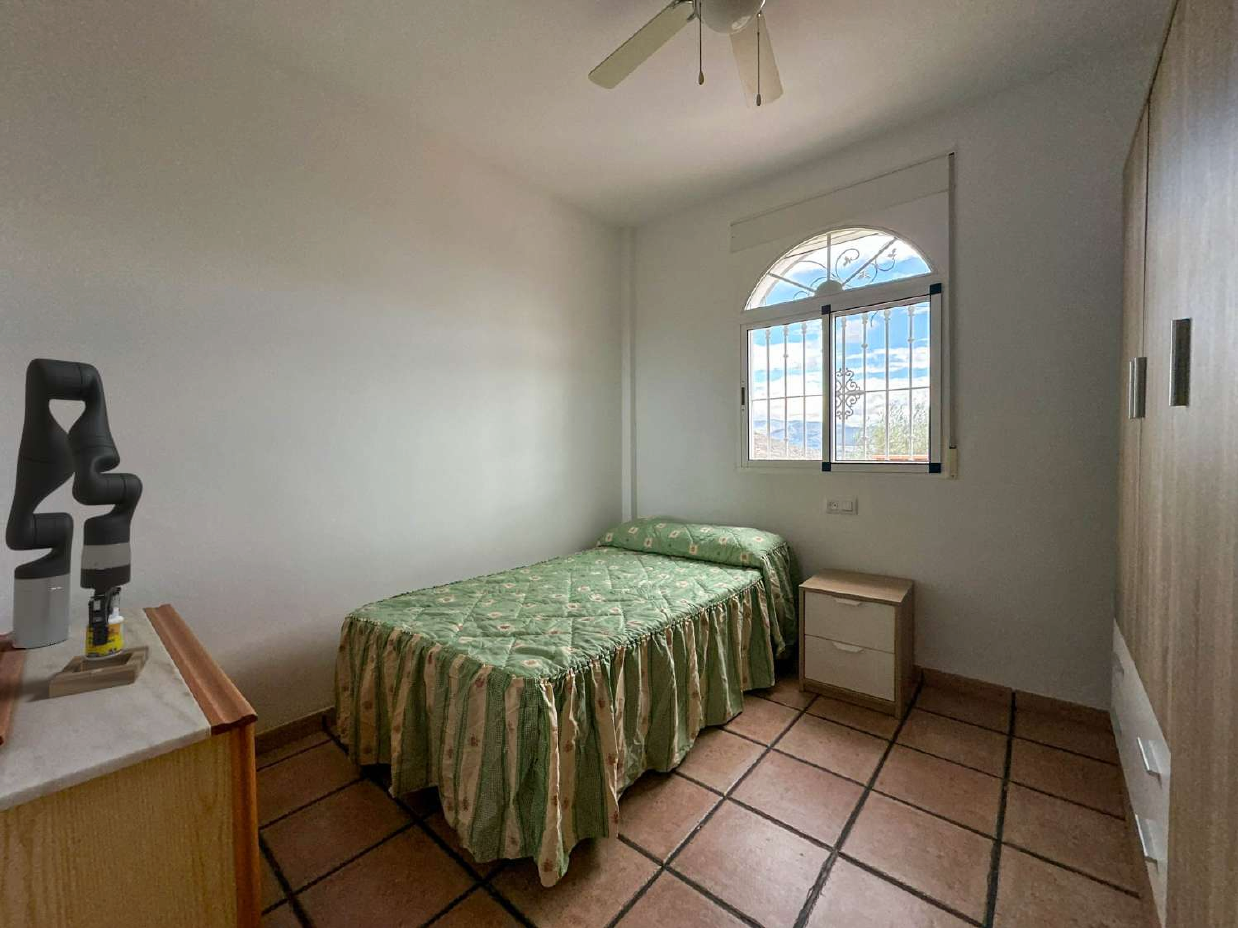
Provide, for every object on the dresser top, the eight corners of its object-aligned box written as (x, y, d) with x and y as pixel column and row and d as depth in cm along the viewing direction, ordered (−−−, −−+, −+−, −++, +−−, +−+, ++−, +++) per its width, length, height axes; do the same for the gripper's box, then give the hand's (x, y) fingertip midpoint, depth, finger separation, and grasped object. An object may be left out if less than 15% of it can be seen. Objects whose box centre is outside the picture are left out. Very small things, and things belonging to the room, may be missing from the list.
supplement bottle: (80, 663, 100) (82, 615, 100) (90, 654, 105) (92, 608, 105) (118, 658, 103) (119, 611, 104) (126, 649, 108) (127, 604, 108)
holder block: (74, 669, 107) (74, 654, 107) (148, 657, 114) (149, 643, 114) (49, 698, 94) (49, 681, 94) (134, 682, 101) (134, 667, 101)
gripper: (90, 559, 108) (88, 634, 108) (70, 571, 96) (67, 655, 96) (137, 556, 112) (135, 628, 112) (123, 567, 101) (120, 647, 101)
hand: (104, 640), depth 104 cm, fingers closed on supplement bottle, 5 cm apart
